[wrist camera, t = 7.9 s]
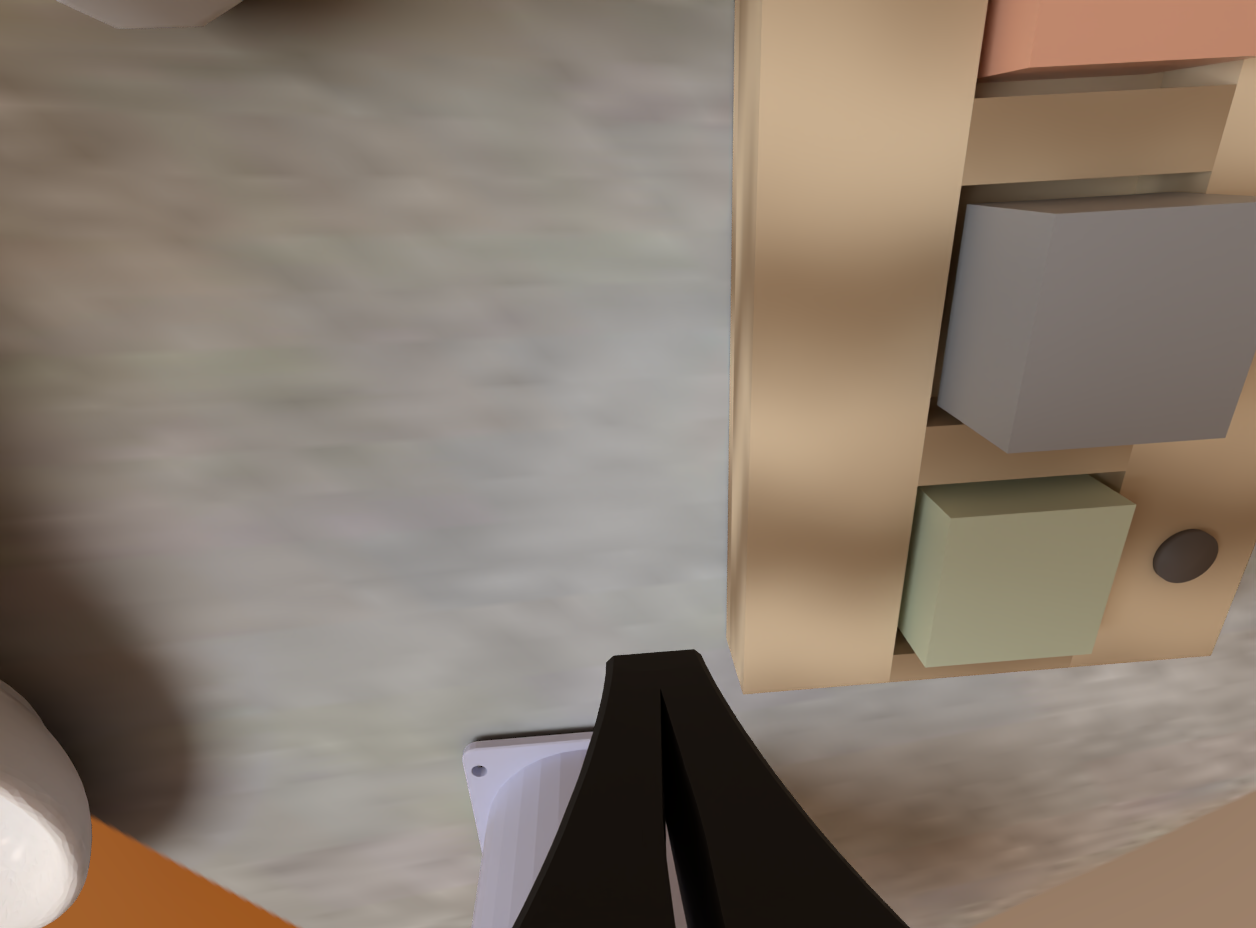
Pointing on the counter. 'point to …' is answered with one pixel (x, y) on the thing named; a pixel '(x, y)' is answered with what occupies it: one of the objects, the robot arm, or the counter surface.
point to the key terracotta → (1111, 37)
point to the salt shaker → (152, 12)
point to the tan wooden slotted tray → (936, 328)
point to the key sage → (1011, 568)
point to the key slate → (1102, 319)
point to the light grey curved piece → (38, 820)
